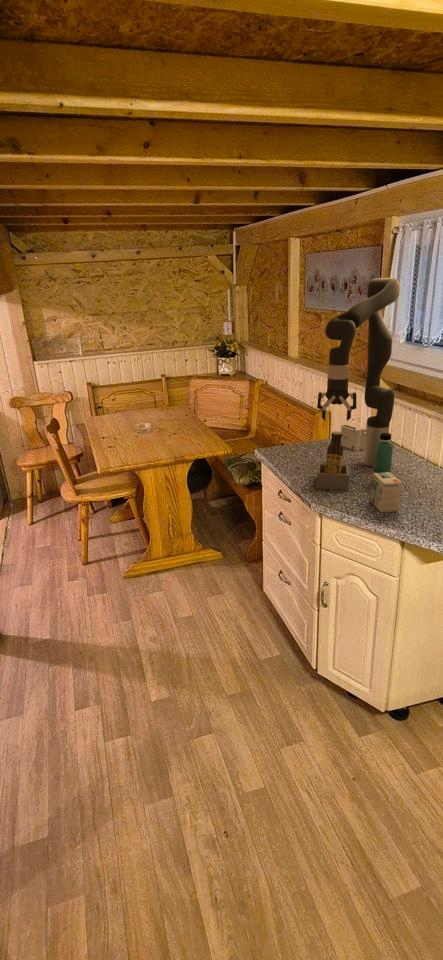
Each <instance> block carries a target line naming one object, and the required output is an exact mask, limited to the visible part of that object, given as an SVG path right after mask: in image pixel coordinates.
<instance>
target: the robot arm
mask: <svg viewBox="0 0 443 960" xmlns="http://www.w3.org/2000/svg"><path fill="white" fill-rule="evenodd" d="M366 292H367V294H366V298H364V299H363V300H360V301H359V302H357V303H354V304H353V306H352V307H350V308H349V309H348V310H347V311H346V312H344V313H341V314H339V315H336V316H335V317H333V318H330V320H329V321H328V322H327V324H326V325H325V331H324V332H325V336H326V337H327V339H329V340H331V341H332V340H333V341H340V344H339V345H338V346H334V347H332V348H330V349H329V357H328V358H329V359H328V368H327V382H326V383H327V385H326V386H327V387H326V389H327V390H326V392H323V391H319V392H318V395H317V405H316V409H318V410H321V419H322V420H323V421H326V413H327V411H326V410H327V408H328V407H329V406H330V405H338V406H341V405H344V407H345V408H346V409H347V410H346V421H349V420H351V418H352V411H354V410H356V409H357V392H356V391H353V392H349V380H350V378H349V377H350V365H349V362H350V352H351V349H352V345H353V342H354V339H355V336H356V332H357V329H358V328H359V327H361V326H362V324H364V323H365V322H366V321H367V320H368V334H367V335H368V337H367V339H368V340H367V369H366V371H367V372H366V380H365V388H364V404H365V405H366V407H368V408H370V409H374V410H376V414H375V415H373V416H369V417H368V418H367V419H366V427H365V429H366V432H365V434H366V439H365V445H364V447H365V450H363V452H364V453H363V464H364V465H365V466H368V467H373V468H375V466H374V465H375V458H376V457H375V456H376V455H375V453H376V447H377V443H378V442H380V441H389V440H381V439H380V435H381V433H390V432H389V431H390V423H391V421H392V417H393V411H394V405H395V404H394V403H395V392H394V391H393V389H391V388H387V387H384V386H381V384H380V383H381V375H382V372H383V371H384V369H385V367H386V366H387V364H388V362H389V360H391V356H392V353H393V352H392V351H393V337H392V333H391V331H390V329H389V327H388V326H387V324H386V322H385V320H384V318H383V314H382V309H384V308H386V307H388V306H390V305H391V304H393V303H395V302H396V301H397V299H398V298H399V296H400V294H401V283H400V281H399V280H398V279H397V278H395V277H377V278H372V279H371V280H370V281H369V283H368V286H367V291H366ZM324 397H326V399H327V400H326V401H325V403H324V404H323V405H322V399H324ZM349 397H350V399H351V400H352V405H350V404H349V402H348V401H347V399H348V398H349Z"/></svg>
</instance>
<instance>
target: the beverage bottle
mask: <svg viewBox="0 0 443 960" xmlns="http://www.w3.org/2000/svg"><path fill="white" fill-rule="evenodd" d="M380 439H381V440H388V441H380V442H378V443H377V447H376V453H375V455H376V456H375V457H376V458H375V465H374V466H375V467H374V469H373V470H374V471H373V473H384V472H391V473H392V459H393V451H394V450H393V449H394V444H393V443H392V442H391V441H390V440H392V433H390V432H389V433H381V435H380Z"/></svg>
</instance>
